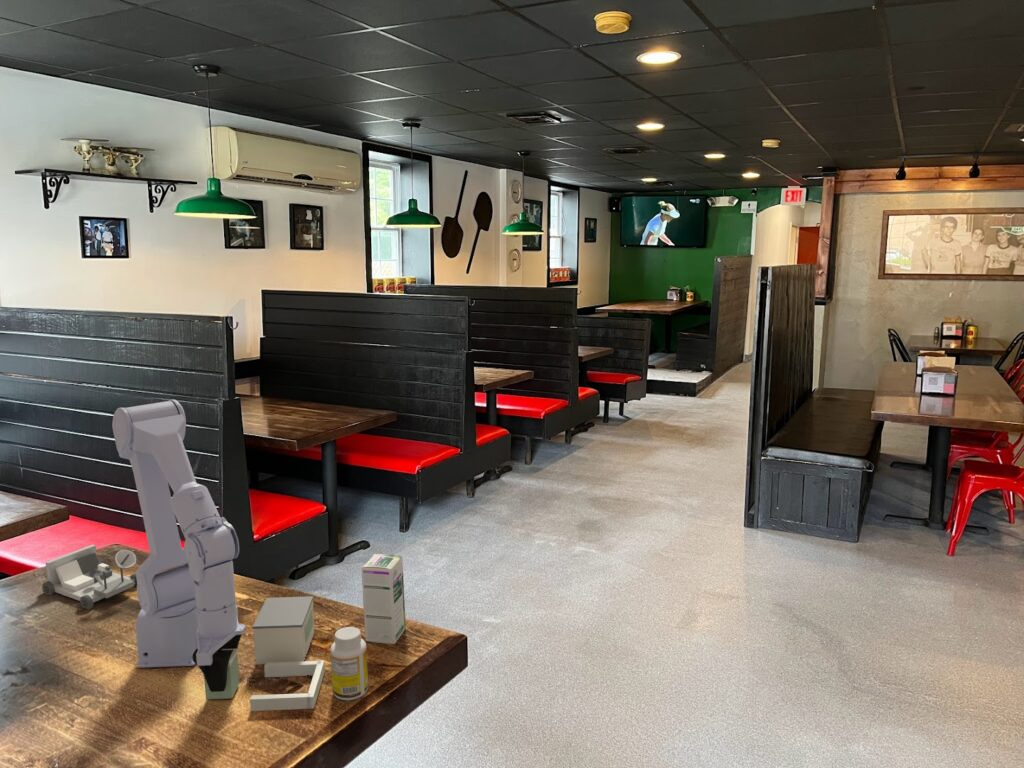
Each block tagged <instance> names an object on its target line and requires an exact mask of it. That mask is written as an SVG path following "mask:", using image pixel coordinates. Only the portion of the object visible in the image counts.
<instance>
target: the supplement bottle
mask: <svg viewBox="0 0 1024 768" xmlns="http://www.w3.org/2000/svg"><path fill="white" fill-rule="evenodd" d="M361 635H362V633H361V630H360V629H359V628H357V627H354V626H346V627H342V628H339V629H338V630H336V632H335V633H334V642H333V643H331V645H330V666H331V669H330V670H331V685H332V686H331V687H332V693H333V695H334V697H335V698H337V699H339V700H342V701H354V700H357V699H360V698H361V697H363V696H364V695H365V694H366V693H367V691H368V688H369V676H368V675H369V673H368V672H369V671H368V656H367V655H368V653H367V652H368V651H367V643H366V640H364V639H363V638H362V636H361Z"/></svg>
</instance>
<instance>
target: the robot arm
mask: <svg viewBox="0 0 1024 768" xmlns="http://www.w3.org/2000/svg"><path fill="white" fill-rule="evenodd" d="M111 426H112V432H113V436H114V441H115V445H116V446H115V447H116V451H117V452H118V457H119V458H122V459H124V460H125V459H126V460H129V463H130V465H131V469H132V472H133V477H134V478H133V479H134V482H135V487H136V490H137V496H138V501H139V506H140V510H141V514H142V519H143V524H144V529H145V534H146V537H147V538H146V539H147V542H148V549H149V553H150V554H149V555H148V557H147V558H146V559H144V561H143V563H141V565H140V566H139V567H138V568H137V570H136V572H135V573H137V574H136V578H137V587H136V594H137V599H138V603H139V606H140V607H141V609H140V611H139V612H138V615H137V617H136V621H135V639H136V647H137V656H138V657H137V658H138V663H136V664H137V666H136V667H137V668H140V669H141V668H163V667H164V668H169V667H170V668H171V667H191V666H196V665H197V667H198V668H199V669H200V671H201V673H202V674H203V678H204V677H205V679H206V681H207V684H208V687H209V689H210V691H211V692H221V691H224V690H225V687H226V682H227V669H228V663H229V660H230V657H231V654H232V652H233V650H222V649H237V650H238V648H239V643H240V641H241V638H242V636H243V634H244V633H245V631H246V625H245V624H243V623H242V624H240V623H239V619H238V618H239V610H238V608H239V607H238V605H237V599H236V598H237V597H236V585H235V576H234V561H233V559H237V558H238V556H239V554H240V541H239V538H238V536H237V535H238V534H237V532H236V530H235V528H234V526H233V525H232V524H231V523H229V522H228V521H227V519H226V518H225V517H224V516H222V517H221V516H220V513H219V512H218V509H217V507H216V504H215V502H214V500H213V498H212V496H211V493H210V491H209V489H208V487H207V486H206V485H204V484H200V483H197V480H196V477H195V474H194V472H193V469H192V466H191V463H190V459H189V456H188V453H187V450H186V448H185V444H184V442H183V441H184V439H185V436H186V427H187V419H186V413H185V410H184V407H183V406H182V405H181V403H180V402H179V401H178V400H176V399H173V398H172V399H169V400H168V401H167V400H165V401H161V402H154V403H148V404H140V405H136V406H135V405H134V406H129V407H128V406H127V407H118V408H116V410H115V411H114V413H113V416H112V423H111ZM170 488H171V489H170ZM170 490H172V491H173V494H172V496H171V491H170ZM177 523H178V525H179V528H180V530H181V531H182V534H183V536H184V539H185V541H184V544H183V545H184V546H183V547H182V544H181V543H182V542H181V538H180V533H179V528H178V525H177Z"/></svg>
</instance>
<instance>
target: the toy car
mask: <svg viewBox="0 0 1024 768" xmlns="http://www.w3.org/2000/svg"><path fill="white" fill-rule="evenodd" d="M114 556H115V557H114V558H115V564H116V565H117V566H118V568H119V570H120V574H119V573H117V572H113V571H112V569H111V567H110V565H109V564H107V563H103V562H101V561H99V559H98V554H97V547H96V544H89V545H88V546H84V547H82V548H80V549H78V550H75V551H72V552H68V553H67V554H64V555H61V556H58V557H56V558H53V559H51V560H47V561H45V568H46V576H47V581H44V582H43V583H42V585H41V589H42V592H43V594H45V595H48V596H52V595H54V594H55V593H56V594H60V595H62V596H65V597H68V598H71V599H73V600H77V601H79V603H80V606H81V608H83V609H86V610H91V609H93V608H94V603H96V602H99V601H100V600H103V599H104V598H105V599H108V598H111V597H113V596H116V595H117V594H119V593H122V592H124V591H127V590H129V589H131V588H133V587H136V588H137V578H136V574H137V573H136V572H135V573H132V574H131V575H130V577H128V576H126V575H124V570H123V569H127V568H131V567H133V566H134V565H135V564H136V562H137V556H136V554H135V553H134V552H133V551H131V550H128V549H121V550H119V551H117V553H116V554H115V555H114Z"/></svg>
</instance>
